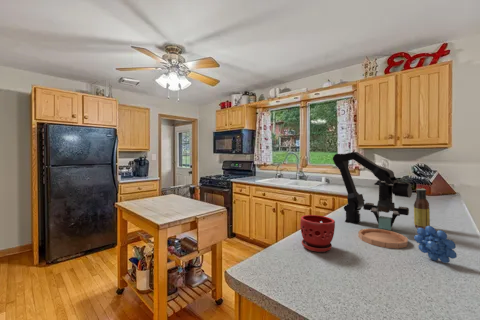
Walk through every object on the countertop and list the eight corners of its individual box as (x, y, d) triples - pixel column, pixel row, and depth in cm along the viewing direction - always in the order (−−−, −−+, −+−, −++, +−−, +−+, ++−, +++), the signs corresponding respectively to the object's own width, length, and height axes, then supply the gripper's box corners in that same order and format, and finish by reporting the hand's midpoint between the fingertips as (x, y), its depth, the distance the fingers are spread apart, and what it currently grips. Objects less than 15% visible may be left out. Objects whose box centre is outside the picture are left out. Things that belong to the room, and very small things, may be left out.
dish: (354, 240, 98) (354, 236, 98) (363, 230, 112) (363, 226, 112) (405, 252, 87) (405, 246, 87) (408, 238, 100) (408, 234, 100)
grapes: (410, 257, 82) (410, 225, 82) (416, 252, 86) (416, 221, 86) (453, 271, 73) (454, 234, 72) (458, 264, 77) (458, 229, 76)
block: (378, 228, 113) (378, 218, 113) (380, 225, 117) (380, 215, 116) (390, 230, 109) (390, 219, 109) (391, 227, 113) (391, 217, 113)
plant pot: (329, 257, 82) (329, 225, 82) (295, 248, 90) (295, 219, 90) (338, 246, 93) (338, 217, 93) (307, 239, 101) (307, 212, 101)
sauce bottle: (424, 226, 118) (424, 188, 117) (433, 230, 111) (433, 190, 111) (410, 225, 118) (411, 188, 118) (418, 229, 112) (419, 190, 112)
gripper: (361, 194, 112) (360, 225, 113) (407, 199, 100) (407, 234, 101) (365, 191, 121) (365, 220, 121) (409, 195, 109) (408, 227, 109)
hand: (385, 225), depth 113 cm, fingers closed on block, 5 cm apart
